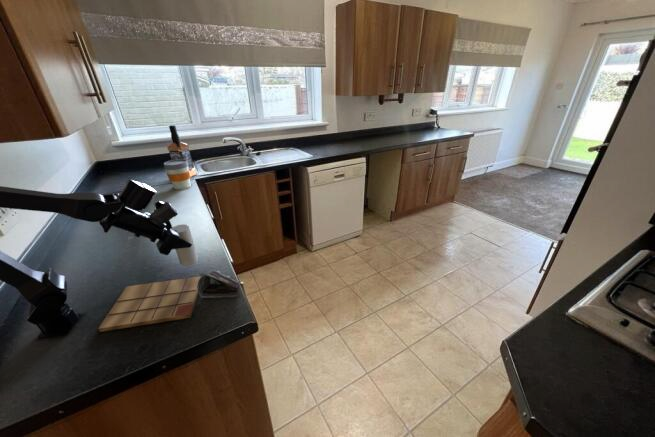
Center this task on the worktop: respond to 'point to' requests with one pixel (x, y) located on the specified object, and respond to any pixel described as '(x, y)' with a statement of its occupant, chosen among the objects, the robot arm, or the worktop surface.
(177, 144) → the whiskey bottle
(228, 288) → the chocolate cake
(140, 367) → the worktop surface
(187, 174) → the reusable coffee cup
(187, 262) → the white plastic cylinder
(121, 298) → the board
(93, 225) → the worktop surface
